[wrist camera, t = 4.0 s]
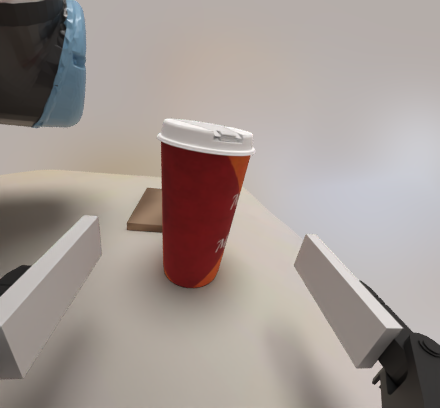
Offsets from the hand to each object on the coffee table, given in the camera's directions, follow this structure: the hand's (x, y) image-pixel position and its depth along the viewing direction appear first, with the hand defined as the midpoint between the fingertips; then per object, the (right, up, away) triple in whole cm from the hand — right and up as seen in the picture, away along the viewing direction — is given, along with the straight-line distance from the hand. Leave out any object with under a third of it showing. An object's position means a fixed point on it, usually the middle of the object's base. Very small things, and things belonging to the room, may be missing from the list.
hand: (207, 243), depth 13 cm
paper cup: (-2, -4, +8) cm, 10 cm away
